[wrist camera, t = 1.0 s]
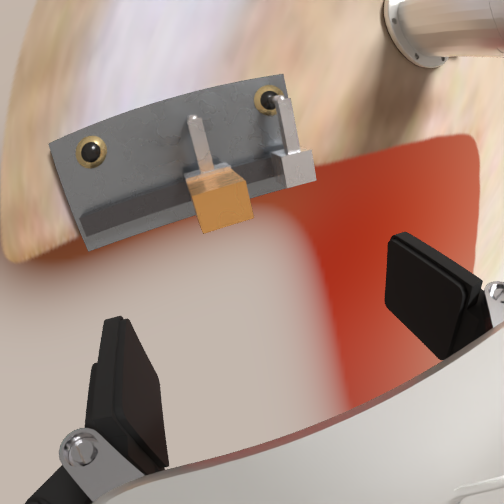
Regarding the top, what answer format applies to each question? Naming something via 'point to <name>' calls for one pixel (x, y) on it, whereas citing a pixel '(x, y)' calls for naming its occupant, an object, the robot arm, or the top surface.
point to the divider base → (177, 156)
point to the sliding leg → (215, 186)
